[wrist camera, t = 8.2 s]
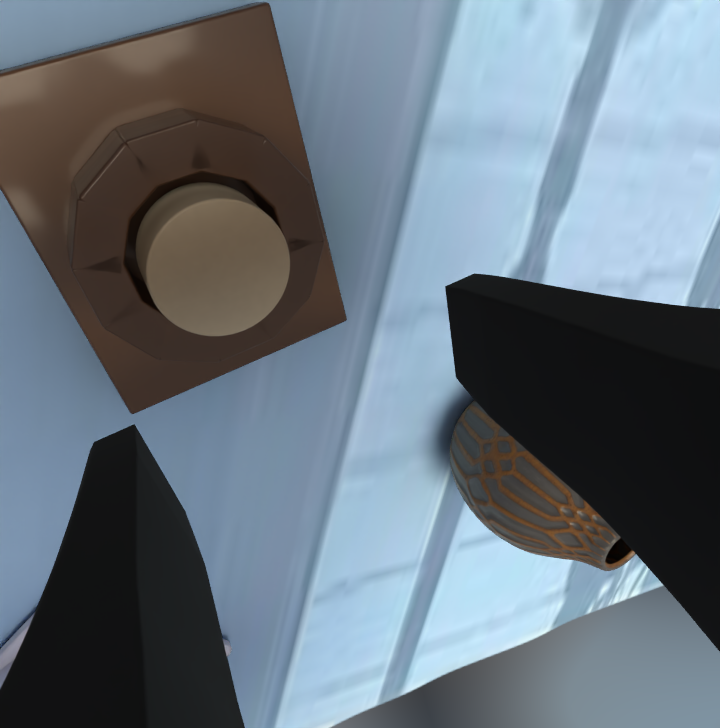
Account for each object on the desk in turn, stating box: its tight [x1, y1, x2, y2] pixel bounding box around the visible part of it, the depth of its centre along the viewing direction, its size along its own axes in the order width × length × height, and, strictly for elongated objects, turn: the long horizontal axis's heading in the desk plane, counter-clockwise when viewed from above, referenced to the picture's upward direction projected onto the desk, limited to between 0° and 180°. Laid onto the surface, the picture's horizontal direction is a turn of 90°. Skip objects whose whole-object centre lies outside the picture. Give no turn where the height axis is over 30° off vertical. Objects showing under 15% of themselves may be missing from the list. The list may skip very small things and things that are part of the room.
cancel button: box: [136, 182, 290, 336], centre depth 15 cm, size 4×4×2 cm
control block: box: [0, 2, 347, 414], centre depth 16 cm, size 10×8×3 cm
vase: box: [450, 400, 636, 571], centre depth 25 cm, size 7×7×9 cm
